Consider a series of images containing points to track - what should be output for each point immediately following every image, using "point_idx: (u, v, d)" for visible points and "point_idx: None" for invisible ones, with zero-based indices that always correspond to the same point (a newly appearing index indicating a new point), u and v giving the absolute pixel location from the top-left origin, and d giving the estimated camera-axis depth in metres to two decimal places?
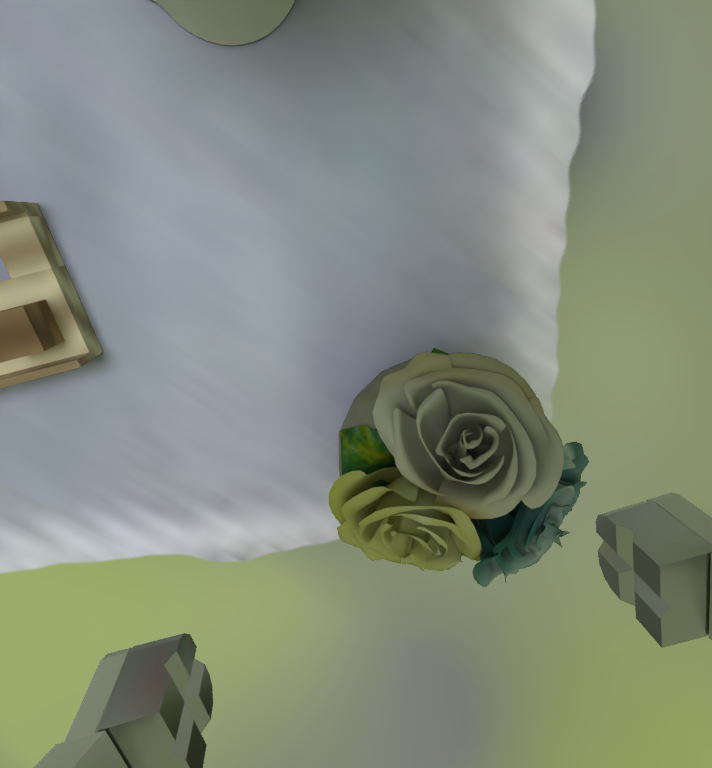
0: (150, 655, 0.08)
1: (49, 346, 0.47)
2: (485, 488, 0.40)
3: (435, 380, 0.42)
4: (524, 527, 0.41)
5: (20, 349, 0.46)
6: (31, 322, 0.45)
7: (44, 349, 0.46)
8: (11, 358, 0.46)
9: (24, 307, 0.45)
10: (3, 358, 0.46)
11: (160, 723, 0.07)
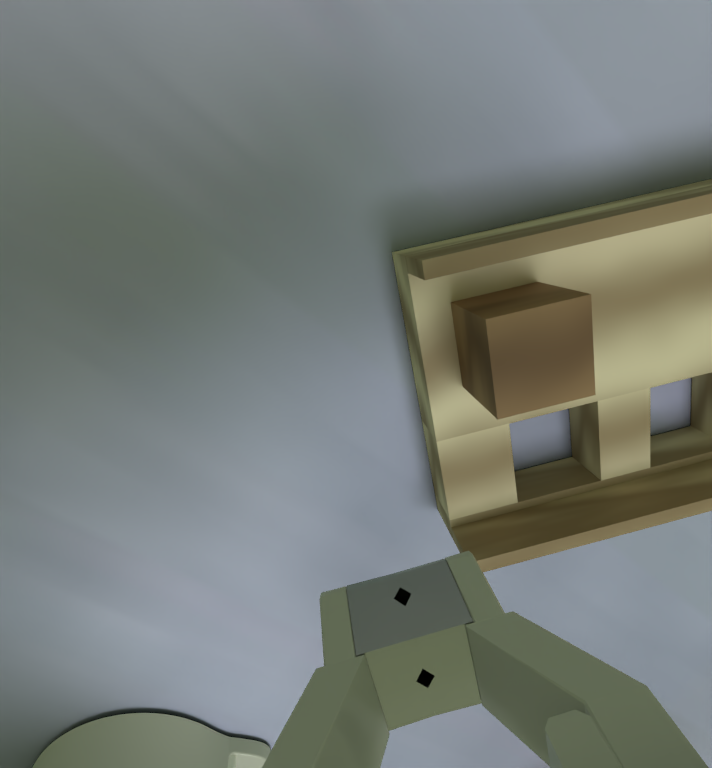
0: (373, 591, 0.08)
1: (475, 317, 0.20)
2: None
3: None
4: None
5: (534, 324, 0.19)
6: (491, 384, 0.20)
7: (484, 321, 0.19)
8: (560, 304, 0.19)
9: (495, 415, 0.21)
10: (576, 304, 0.19)
11: (412, 649, 0.08)
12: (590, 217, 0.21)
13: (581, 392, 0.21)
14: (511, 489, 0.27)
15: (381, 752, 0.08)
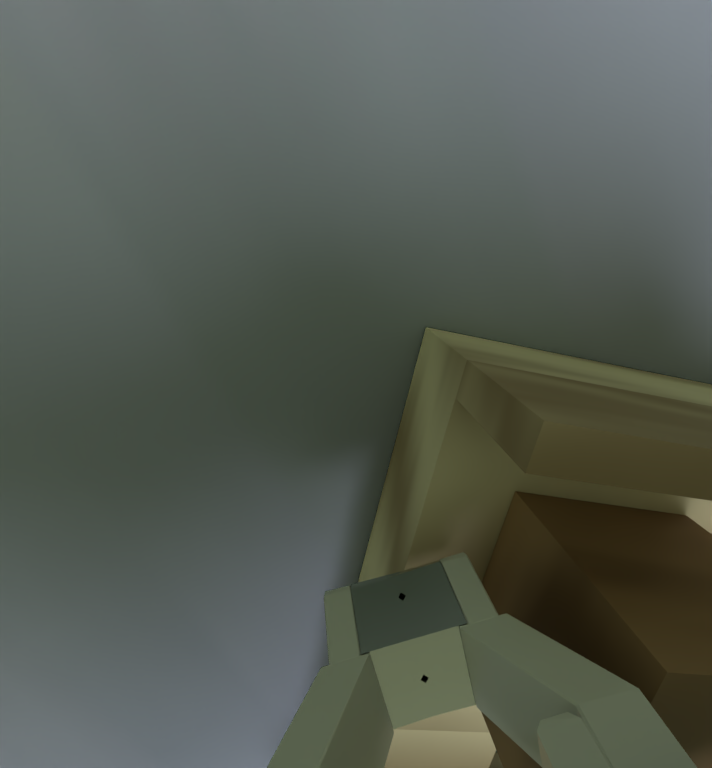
0: (377, 590, 0.08)
1: (604, 611, 0.07)
2: None
3: None
4: None
5: None
6: None
7: (654, 669, 0.06)
8: None
9: None
10: None
11: (416, 648, 0.08)
12: None
13: None
14: None
15: (386, 751, 0.08)
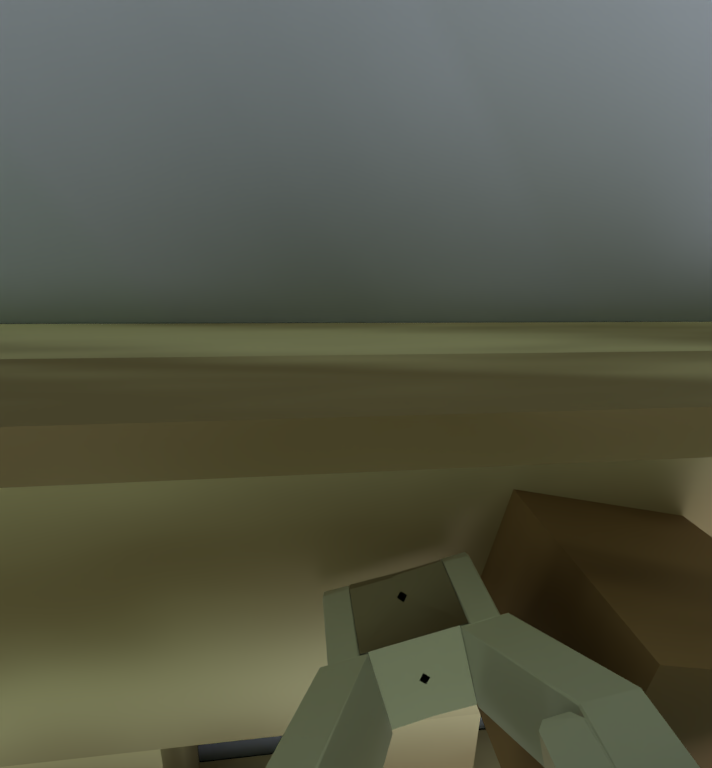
0: (376, 590, 0.08)
1: (599, 606, 0.07)
2: None
3: None
4: None
5: None
6: None
7: (647, 662, 0.06)
8: None
9: None
10: None
11: (415, 648, 0.08)
12: (336, 383, 0.07)
13: None
14: None
15: (384, 751, 0.08)
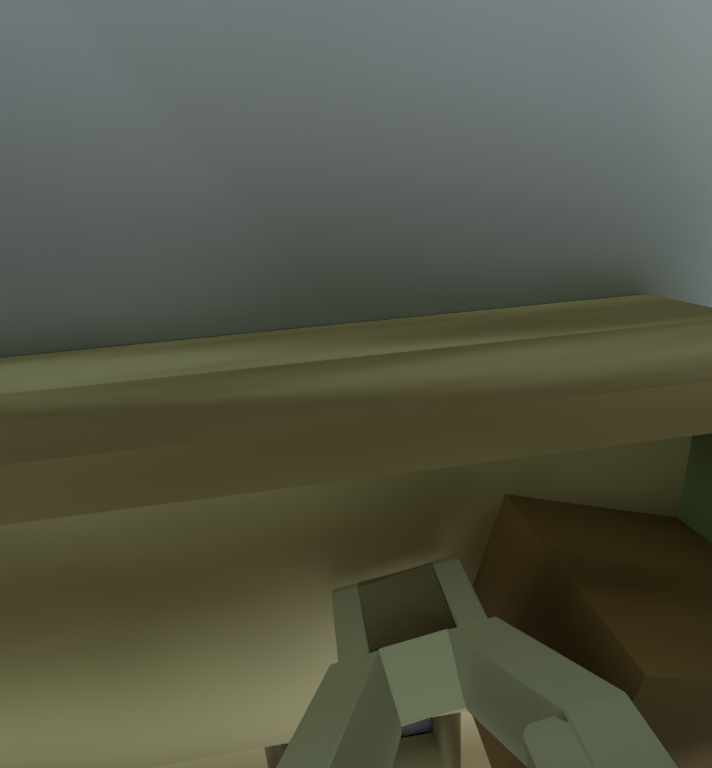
0: (385, 588, 0.09)
1: (587, 614, 0.07)
2: None
3: None
4: None
5: None
6: None
7: (633, 672, 0.06)
8: None
9: None
10: None
11: (425, 646, 0.08)
12: None
13: None
14: None
15: (395, 748, 0.08)
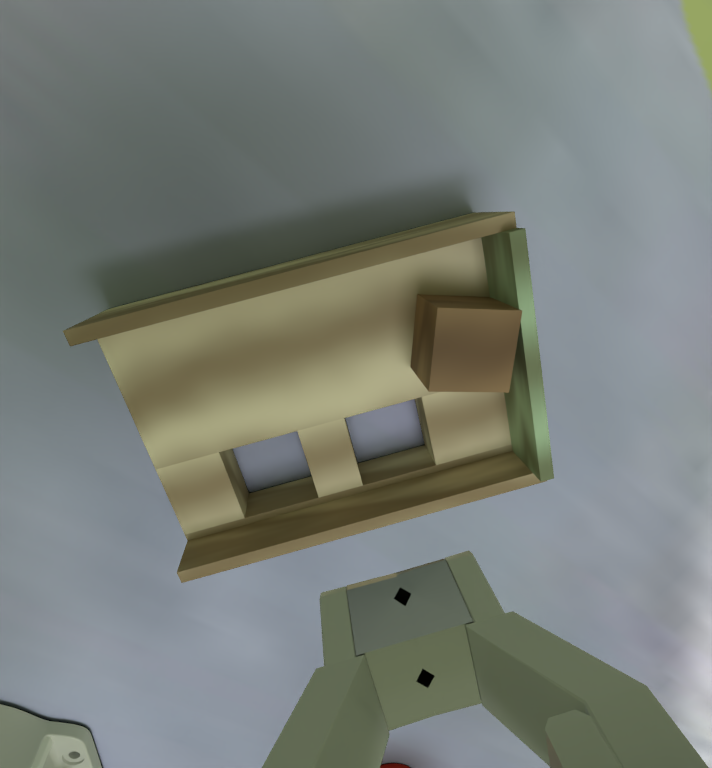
0: (373, 591, 0.08)
1: (431, 306, 0.25)
2: None
3: None
4: None
5: (473, 322, 0.24)
6: (430, 362, 0.25)
7: (436, 309, 0.24)
8: (497, 312, 0.24)
9: (427, 388, 0.25)
10: (509, 315, 0.24)
11: (412, 649, 0.08)
12: (226, 285, 0.25)
13: (498, 387, 0.26)
14: (235, 507, 0.31)
15: (381, 752, 0.08)
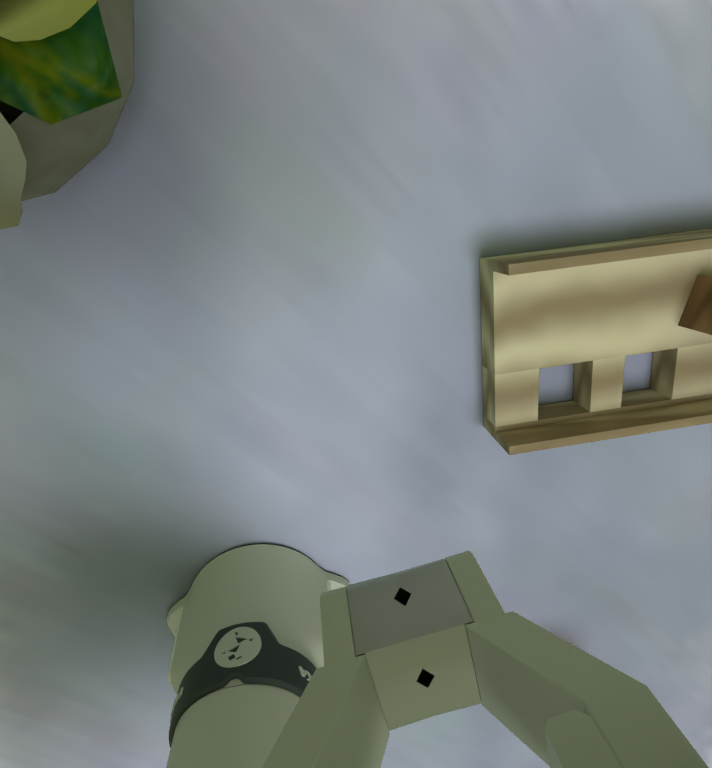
0: (373, 591, 0.08)
1: None
2: None
3: None
4: None
5: None
6: None
7: None
8: None
9: None
10: None
11: (412, 650, 0.08)
12: (600, 250, 0.38)
13: None
14: (535, 411, 0.44)
15: (381, 752, 0.08)
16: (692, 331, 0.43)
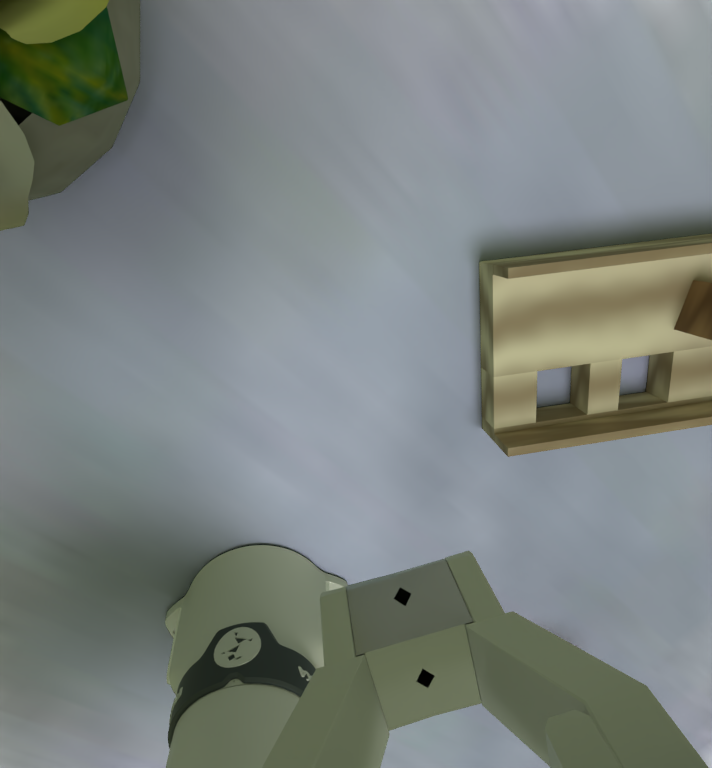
0: (373, 591, 0.08)
1: None
2: None
3: None
4: None
5: None
6: None
7: None
8: None
9: None
10: None
11: (411, 650, 0.08)
12: (598, 254, 0.38)
13: None
14: (533, 413, 0.44)
15: (381, 752, 0.08)
16: (688, 335, 0.43)
